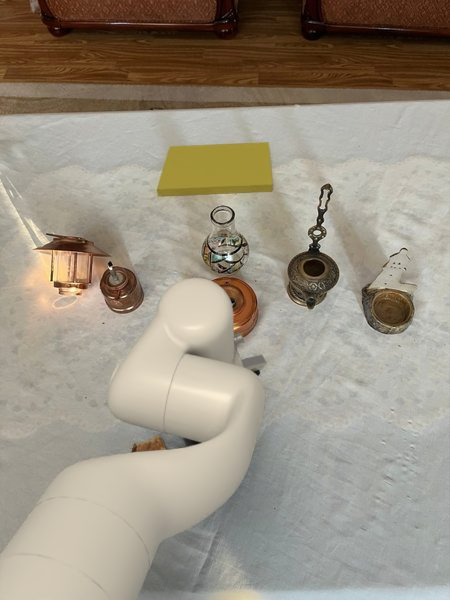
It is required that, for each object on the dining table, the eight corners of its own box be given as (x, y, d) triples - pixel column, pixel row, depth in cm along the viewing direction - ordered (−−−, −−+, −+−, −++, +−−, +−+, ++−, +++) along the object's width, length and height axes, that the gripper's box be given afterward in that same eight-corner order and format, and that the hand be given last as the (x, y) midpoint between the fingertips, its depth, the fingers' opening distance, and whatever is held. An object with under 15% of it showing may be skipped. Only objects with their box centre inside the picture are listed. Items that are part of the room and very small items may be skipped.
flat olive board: (268, 149, 116) (160, 154, 116) (268, 142, 114) (158, 146, 114) (272, 191, 110) (158, 196, 110) (272, 184, 108) (156, 189, 108)
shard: (116, 511, 80) (114, 509, 78) (97, 466, 83) (94, 464, 82) (180, 474, 82) (178, 472, 81) (158, 432, 86) (157, 429, 84)
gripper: (252, 302, 64) (250, 360, 78) (119, 364, 60) (143, 412, 75) (283, 352, 60) (275, 403, 75) (144, 420, 56) (164, 460, 71)
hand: (209, 408), depth 75 cm, fingers open, 9 cm apart
